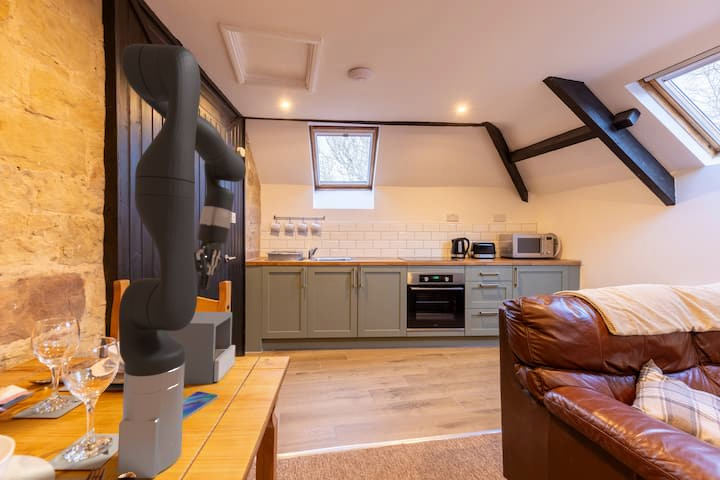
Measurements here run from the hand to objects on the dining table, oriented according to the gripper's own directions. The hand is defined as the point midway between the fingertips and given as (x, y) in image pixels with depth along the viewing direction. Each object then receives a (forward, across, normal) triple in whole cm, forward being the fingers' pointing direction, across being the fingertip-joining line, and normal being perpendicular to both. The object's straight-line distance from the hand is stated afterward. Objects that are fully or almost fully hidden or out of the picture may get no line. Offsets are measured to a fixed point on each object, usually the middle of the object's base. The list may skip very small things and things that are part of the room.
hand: (203, 288), depth 81 cm
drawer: (+26, -15, -3) cm, 30 cm away
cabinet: (+27, -15, -5) cm, 31 cm away
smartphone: (+29, +5, +3) cm, 29 cm away
